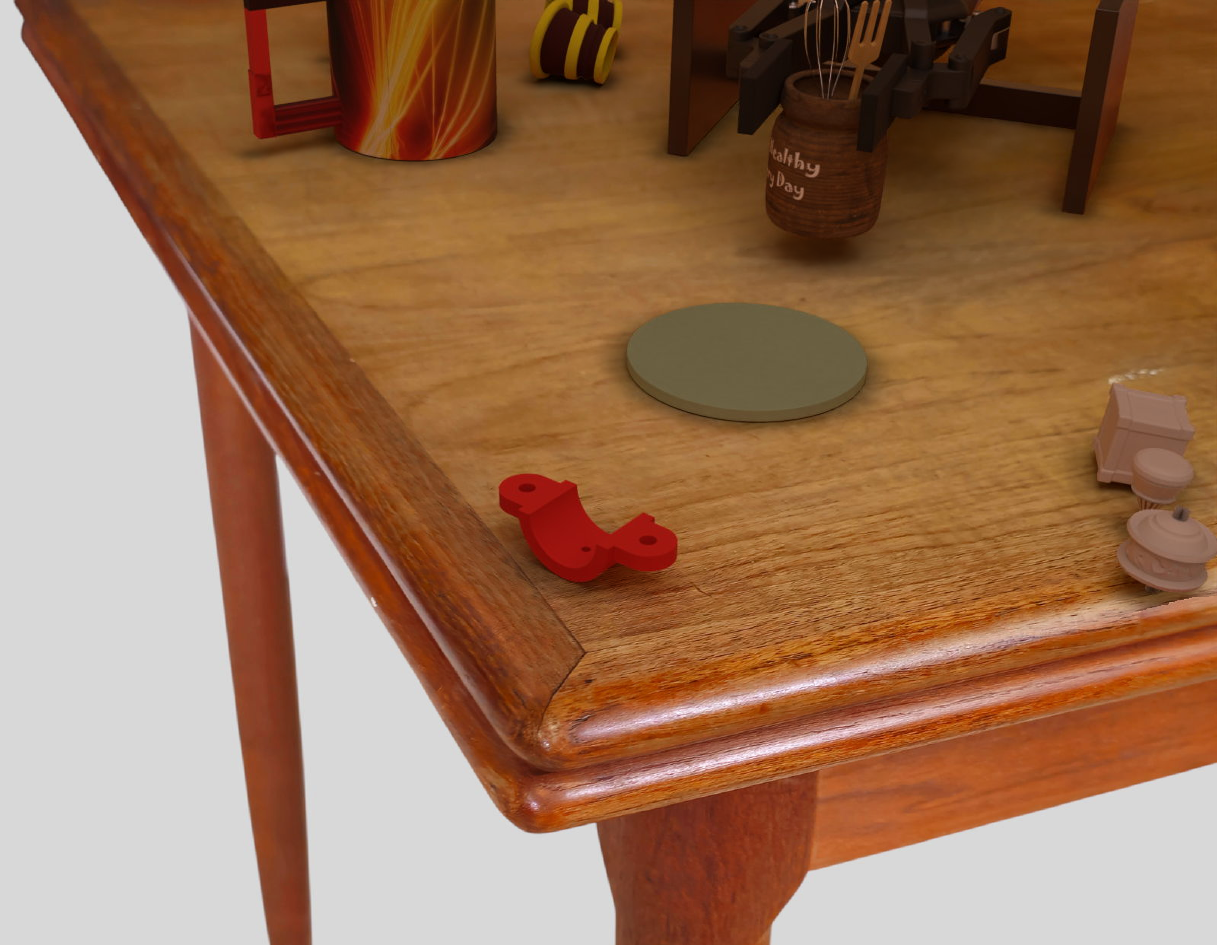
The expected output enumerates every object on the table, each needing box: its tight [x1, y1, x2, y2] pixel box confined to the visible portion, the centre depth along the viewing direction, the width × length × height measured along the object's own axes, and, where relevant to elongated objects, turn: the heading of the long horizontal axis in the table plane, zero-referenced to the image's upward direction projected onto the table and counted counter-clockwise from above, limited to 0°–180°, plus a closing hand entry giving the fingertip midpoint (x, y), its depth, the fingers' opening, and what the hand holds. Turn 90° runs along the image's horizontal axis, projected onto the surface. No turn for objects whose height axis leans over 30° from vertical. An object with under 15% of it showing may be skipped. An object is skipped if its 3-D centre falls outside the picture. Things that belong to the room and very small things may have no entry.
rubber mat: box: [625, 302, 868, 423], centre depth 83 cm, size 11×11×1 cm
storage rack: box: [666, 0, 1140, 215], centre depth 105 cm, size 15×24×11 cm, turn 70°
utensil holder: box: [764, 0, 892, 240], centre depth 89 cm, size 6×6×12 cm
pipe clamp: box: [498, 472, 679, 583], centre depth 68 cm, size 8×3×2 cm, turn 51°
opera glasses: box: [528, 0, 624, 85], centre depth 117 cm, size 10×5×5 cm, turn 176°
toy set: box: [1091, 382, 1217, 595], centre depth 71 cm, size 12×3×4 cm, turn 172°
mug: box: [243, 0, 498, 161], centre depth 103 cm, size 10×14×12 cm
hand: (806, 114), depth 84 cm, fingers closed on utensil holder, 5 cm apart
